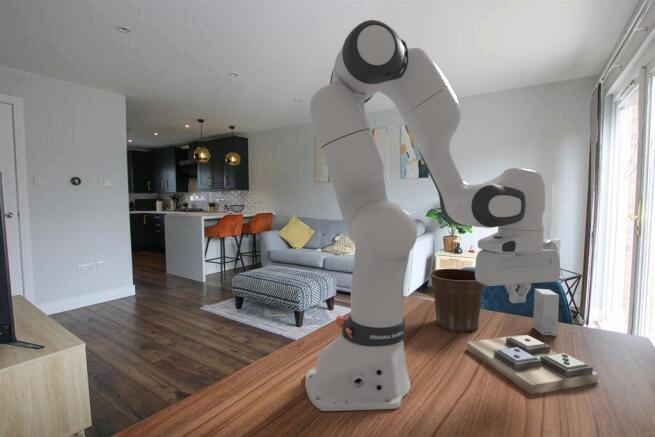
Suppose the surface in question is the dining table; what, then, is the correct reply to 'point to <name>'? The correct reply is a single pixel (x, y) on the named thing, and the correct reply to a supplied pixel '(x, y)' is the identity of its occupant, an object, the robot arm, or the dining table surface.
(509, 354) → the two dot key
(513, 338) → the one dot key
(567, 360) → the three dot key
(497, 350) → the key board
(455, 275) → the plant pot
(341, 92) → the robot arm
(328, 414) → the dining table surface
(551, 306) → the skincare box
